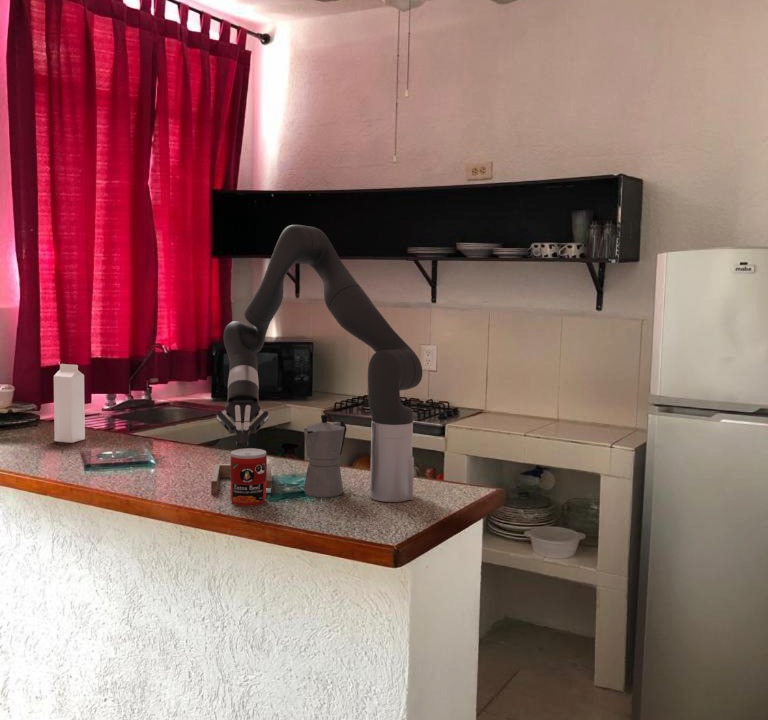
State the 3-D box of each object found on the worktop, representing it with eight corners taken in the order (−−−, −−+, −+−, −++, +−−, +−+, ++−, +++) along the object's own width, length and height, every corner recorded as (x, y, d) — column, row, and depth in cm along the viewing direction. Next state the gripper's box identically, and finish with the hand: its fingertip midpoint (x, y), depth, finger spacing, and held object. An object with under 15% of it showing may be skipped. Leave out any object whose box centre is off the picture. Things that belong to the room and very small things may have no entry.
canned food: (228, 506, 184) (228, 455, 182) (232, 496, 192) (232, 448, 190) (264, 506, 184) (265, 455, 183) (267, 497, 192) (268, 448, 191)
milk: (67, 437, 254) (66, 362, 252) (85, 439, 252) (84, 363, 250) (54, 441, 248) (53, 364, 246) (72, 443, 246) (71, 365, 244)
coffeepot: (324, 502, 189) (325, 420, 187) (289, 495, 194) (290, 416, 192) (361, 487, 202) (362, 411, 201) (327, 482, 207) (328, 407, 205)
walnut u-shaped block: (270, 475, 212) (270, 463, 212) (271, 493, 195) (271, 480, 195) (214, 476, 210) (214, 464, 210) (211, 494, 193) (211, 481, 193)
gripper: (215, 378, 211) (213, 437, 200) (270, 378, 213) (270, 437, 202) (216, 396, 217) (214, 455, 206) (269, 397, 219) (270, 454, 208)
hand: (242, 446), depth 204 cm, fingers closed
